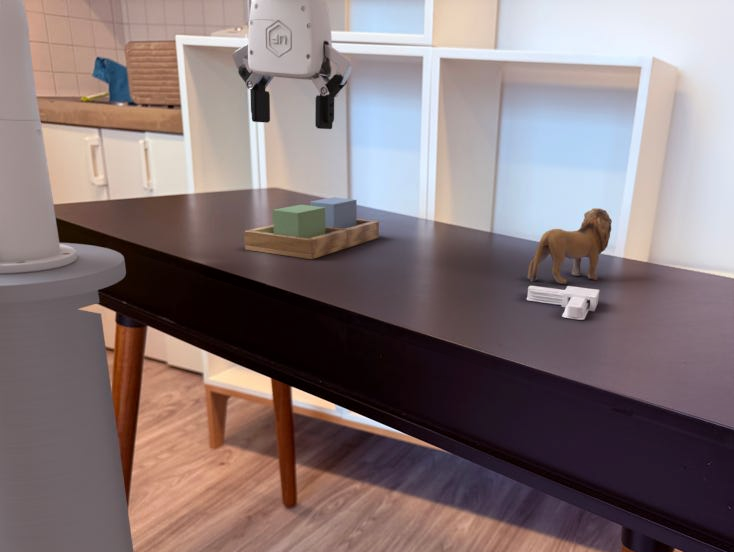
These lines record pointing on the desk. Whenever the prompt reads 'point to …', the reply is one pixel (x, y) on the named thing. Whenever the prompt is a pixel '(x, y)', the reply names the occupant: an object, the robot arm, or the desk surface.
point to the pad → (299, 221)
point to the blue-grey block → (338, 212)
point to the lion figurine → (574, 245)
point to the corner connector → (567, 299)
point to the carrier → (310, 240)
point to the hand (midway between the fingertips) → (292, 125)
